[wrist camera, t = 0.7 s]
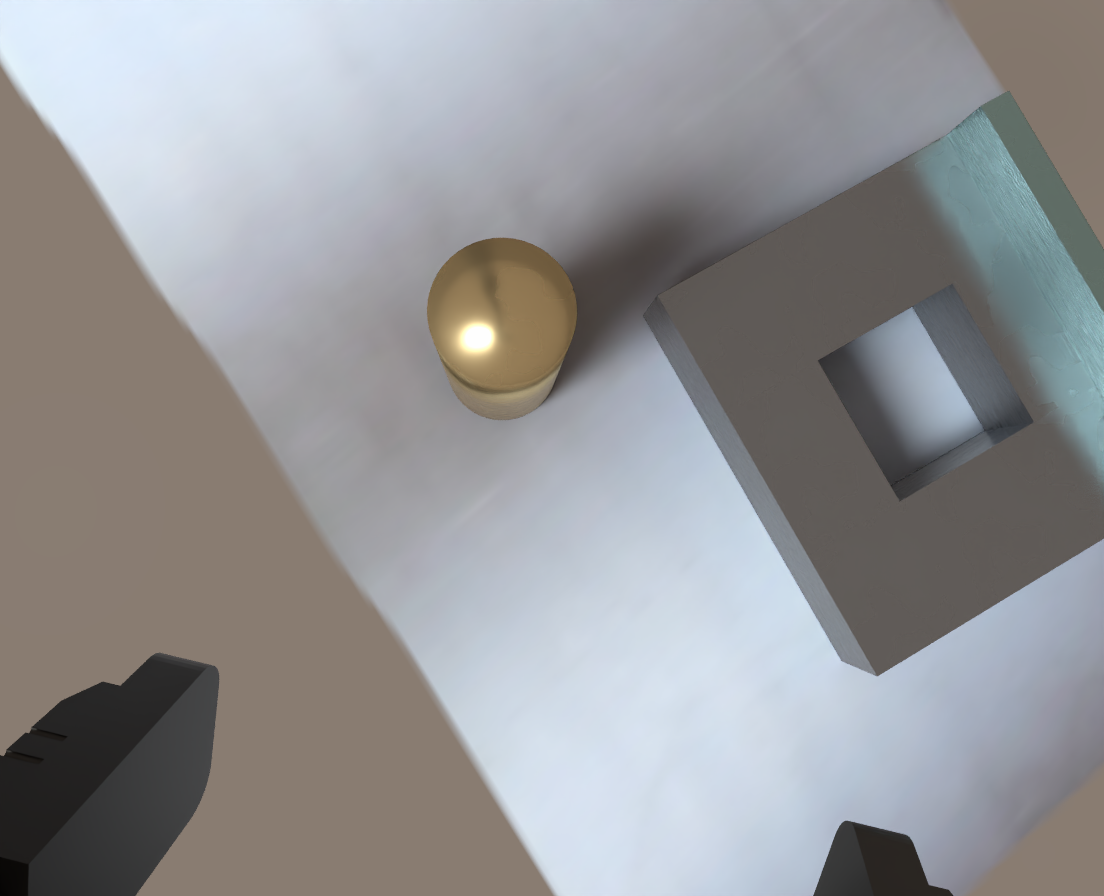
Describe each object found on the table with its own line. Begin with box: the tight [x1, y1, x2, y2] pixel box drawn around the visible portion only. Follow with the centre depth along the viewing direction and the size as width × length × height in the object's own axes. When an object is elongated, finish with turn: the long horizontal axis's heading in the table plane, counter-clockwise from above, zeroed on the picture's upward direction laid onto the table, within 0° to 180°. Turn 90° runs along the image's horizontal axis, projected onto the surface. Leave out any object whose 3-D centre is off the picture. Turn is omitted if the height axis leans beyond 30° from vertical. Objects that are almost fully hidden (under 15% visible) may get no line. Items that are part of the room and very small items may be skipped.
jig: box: [643, 91, 1104, 676], centre depth 35 cm, size 16×14×6 cm
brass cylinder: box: [427, 238, 577, 420], centre depth 32 cm, size 4×4×10 cm
